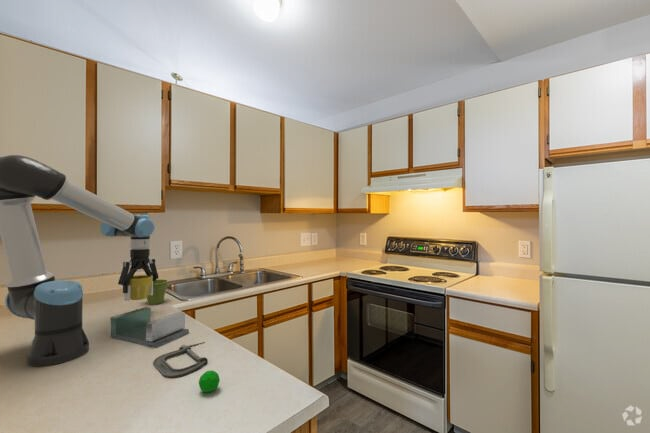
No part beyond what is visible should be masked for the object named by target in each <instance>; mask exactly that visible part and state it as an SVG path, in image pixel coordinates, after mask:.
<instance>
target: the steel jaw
mask: <svg viewBox="0 0 650 433" xmlns="http://www.w3.org/2000/svg"><path fill="white" fill-rule="evenodd" d="M183 328H184V329H186V313H185V312H184V311H176V312H175V313H171V314H168V315H166V316H162V317H160V318H157V319H154V320H151V321H150V322H148V323H146V340H147V341H155V340H157V339H159V338H162V337H164V336H167V335H169V334H171V333H174V332H176V331H179V330H181V329H183Z"/></svg>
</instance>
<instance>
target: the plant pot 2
mask: <svg viewBox="0 0 650 433" xmlns="http://www.w3.org/2000/svg"><path fill="white" fill-rule="evenodd" d="M168 282H169V280H168V279H164V278H163V279H161V278H158V279H156V281H154V287H153V295H148V297H147V298H146V301H147V304H148V305H156V304H157V305H159V304H163V303H164V299H165V294H166V289H167V284H168Z"/></svg>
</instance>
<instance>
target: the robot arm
mask: <svg viewBox="0 0 650 433" xmlns="http://www.w3.org/2000/svg"><path fill="white" fill-rule="evenodd" d="M36 197H38V198H41V199H42V200H45V201H49V200H53V201H54V202H55V201H56V202H57V203H60V204H62V205H64V206H66V207H68V208H70V209H73V210H76V211H77V212H80V213H82V214H84V215H86V216H89V217H91V218H93V219H95V220H98V221H100V222H101V223H100V227H99V228H100V229H99V230H100V233H101V235H103V236H104V237H130V244H129V245H130V250H129V252H130V253H129V254H130V255H129V257H130V260H129V261H123V262H122V270H121V273H120V276H119V279H118V282H117V284H118V285H119V286H122V294H124V296H123V298H124V299H123V300H124V301H127V302H130V301H131V299H130V285H129V283H130V279H132V277H133V276H135V274H136V273H137V271H138V270H143V271H144V273H145V275H147V276H153V281H152V284H151V285H150V289H149V293H148V295H153V287H154V281H156V280H157V279H160V278H159V273H158V270H157V266H156V259H155V258H150V252H151V251H150V250H151V249H150V245H151V241H150V240H151V239H150V238H151V235H152V234H153V232H154V231H155V224H154V222H153V221H152V219H151V216H150V215H148V214H133V213H131V212H130V211H128V210H126V209H124V208H122V207H121V206H118V205H116V204H114V203H112V202H110V201H108V200H107V199H105V198H103V197H101V196H99V195H98V194H95V193H93V192H91V191H89V190H87V189H85V188H84V187H81V186H79V185H78V184H76V183H74V182H72V181H70V180H69V179H68V177H67V175H66V174H64V173H62V172H60V171H58V170H56V169H54V168H53V167H51V166H49V165H47V164H45V163H43V162H40V161H38V160H37V159H34V158H31V157H28V156H25V155H19V154H13V155H12V154H10V155H5V156H0V238H1V242H2V245H3V250H4V253H5V257H6V261H7V265H8V270H9V272H10V276H11V279H10V281H9V282H7V284H6V287H7V291H8V293H7V294H6V296H5V301H4V302H5V307H6V309H7V310H8V311H9V312H10V313H11V314H13V315H14V316H16V317H18V318H23V319H29V320H34V337H33V340H32V342H31V345H30V347H29V349H28V352H27V355H26V364H27V365H28V366H32V367H45V366H53V365H58V364H61V363H65V362H68V361H72V360H74V359H76V358H77V359H78V358H79V357H81V356H83V355H85V354H86V353H88V351H89V350H90V342H89V339H88V337H87V334H86V332H85V330H84V328H83V301H84V300H83V296H84V292H83V286H82V285H81V283H79V282H78V281H74V280H60V279H59V280H56V278H55V274H54V273H53V272H50V271H48V270H47V266H46V262H45V257H44V254H43V249H42V245H41V242H40V237H39V233H38V230H37V229H38V228H37V225H36V221H35V220H36V219H35V217H34V216H35V215H34V212H33V208H32V202H33V201H34V199H35V198H36Z"/></svg>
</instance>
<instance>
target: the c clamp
mask: <svg viewBox="0 0 650 433" xmlns="http://www.w3.org/2000/svg"><path fill="white" fill-rule="evenodd" d="M203 343H204V344H205V343H206V342H205V341H202V342H197V343H193V344H188V345H186V344H182V345H180V346H179V347H178V348H179V349H176V350H173V351H170V352H167V353H164V354H162V355H159V356H158V357H156V358H154V360H153V361H152V365H153V367H155V369H156V370H157V371H158V372H159V373H160V374H161V376H163V377H165V378H167V377H168V378H169V379H171V378H172V379H173V378H179V377H182V376H186V375H188V374H190V373H193V372H194V371H196V370H198V369H199V368H201V367H202V366H205V365H207V364H208V362H209V361H208V358H207V357H205V356H204V357H203V356H202V357H200V356H199V355H198V354H197V353H196V352H194V351H193V350H192V348H193V347H196V346H200V345H204V344H203ZM199 344H200V345H199ZM192 346H193V347H192ZM181 354H182V355H183V354H187V355H189V356H190V357H191V358H192V359H193V360H195V361H196V363H193V364H191V365H189V366H186V367H183V368H174V367H173V366H172V365H171V364H169V363H168V362H167V360H169V359H171V358H176V357H178V356H181ZM175 356H176V357H175Z"/></svg>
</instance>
